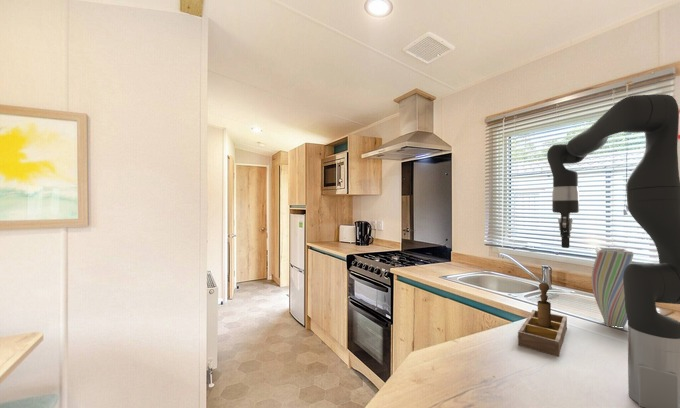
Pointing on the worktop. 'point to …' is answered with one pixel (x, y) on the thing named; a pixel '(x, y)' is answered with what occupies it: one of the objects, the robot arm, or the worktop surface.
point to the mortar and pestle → (544, 309)
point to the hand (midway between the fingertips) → (565, 247)
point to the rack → (543, 334)
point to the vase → (611, 284)
